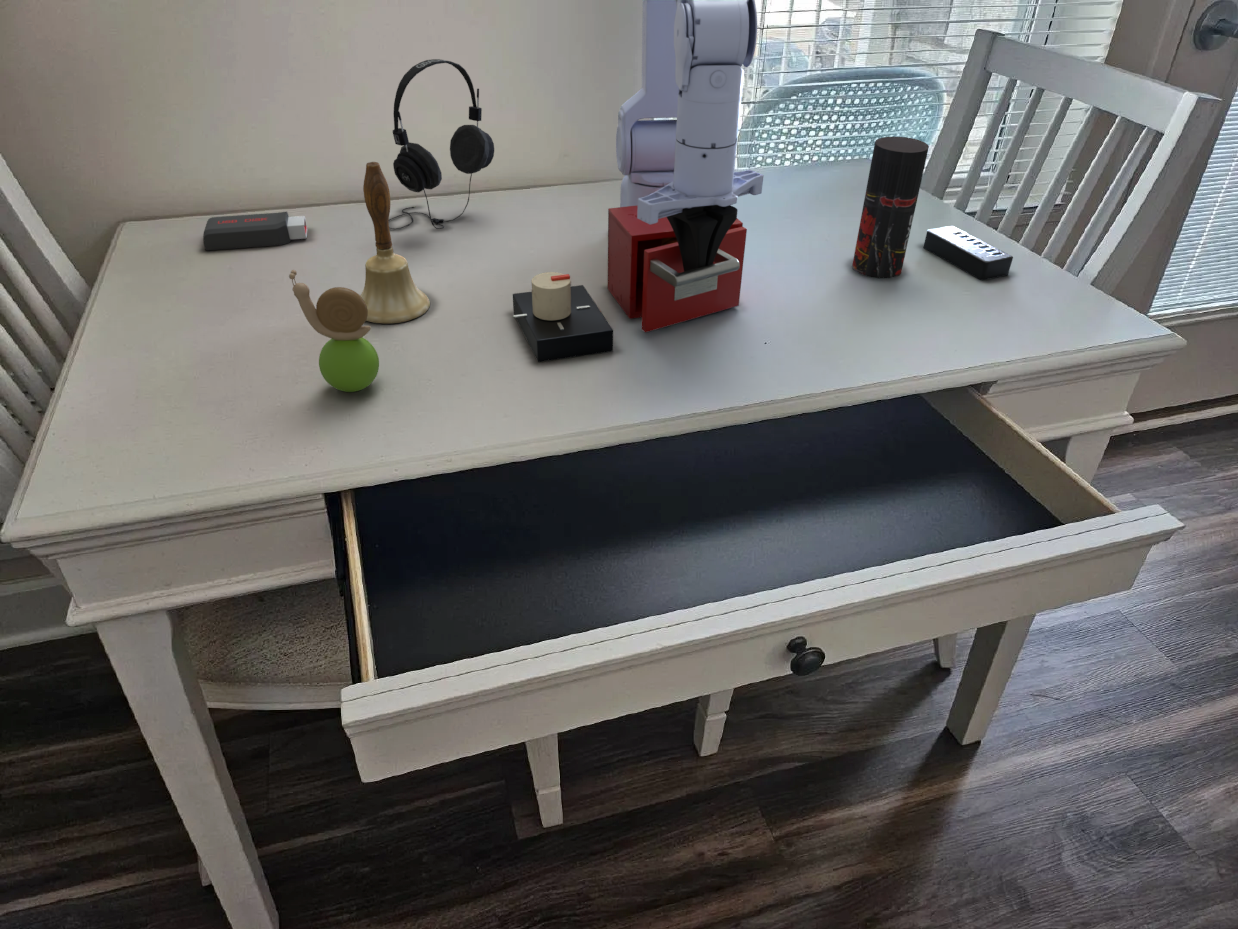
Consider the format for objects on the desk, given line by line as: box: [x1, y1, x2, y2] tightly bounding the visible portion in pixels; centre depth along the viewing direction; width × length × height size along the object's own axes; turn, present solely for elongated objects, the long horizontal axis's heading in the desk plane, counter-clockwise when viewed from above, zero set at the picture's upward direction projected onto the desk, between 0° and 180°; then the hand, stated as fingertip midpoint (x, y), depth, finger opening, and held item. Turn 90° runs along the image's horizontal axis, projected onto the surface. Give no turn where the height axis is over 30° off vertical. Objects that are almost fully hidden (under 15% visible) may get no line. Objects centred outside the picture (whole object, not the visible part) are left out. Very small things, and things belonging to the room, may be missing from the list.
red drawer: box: [641, 226, 748, 333], centre depth 93 cm, size 6×13×9 cm, turn 122°
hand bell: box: [359, 161, 431, 325], centre depth 94 cm, size 8×8×16 cm
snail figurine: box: [288, 269, 380, 393], centre depth 82 cm, size 5×6×12 cm
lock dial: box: [531, 271, 572, 321], centre depth 92 cm, size 4×4×4 cm
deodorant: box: [852, 135, 930, 280], centre depth 105 cm, size 6×6×15 cm
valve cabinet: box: [607, 205, 744, 320], centre depth 99 cm, size 8×13×10 cm, turn 108°
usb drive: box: [202, 211, 308, 252], centre depth 113 cm, size 5×12×3 cm, turn 104°
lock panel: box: [512, 284, 614, 363], centre depth 94 cm, size 11×9×3 cm
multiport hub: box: [922, 225, 1014, 281], centre depth 111 cm, size 4×11×2 cm, turn 24°
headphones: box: [389, 58, 495, 230], centre depth 114 cm, size 15×11×20 cm
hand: (696, 275), depth 91 cm, fingers closed, pressing on red drawer
